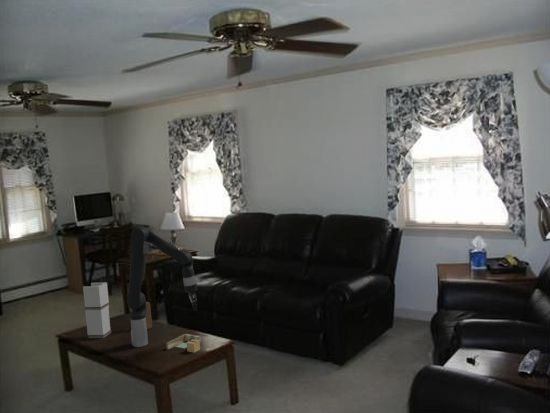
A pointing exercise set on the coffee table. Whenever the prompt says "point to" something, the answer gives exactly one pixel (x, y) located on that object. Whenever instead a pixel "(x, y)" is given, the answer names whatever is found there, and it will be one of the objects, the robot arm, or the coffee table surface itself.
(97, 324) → the stacked white cabinet
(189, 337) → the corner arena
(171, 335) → the coffee table surface
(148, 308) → the wooden block
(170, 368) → the coffee table surface
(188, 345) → the ochre cube
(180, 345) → the pad
